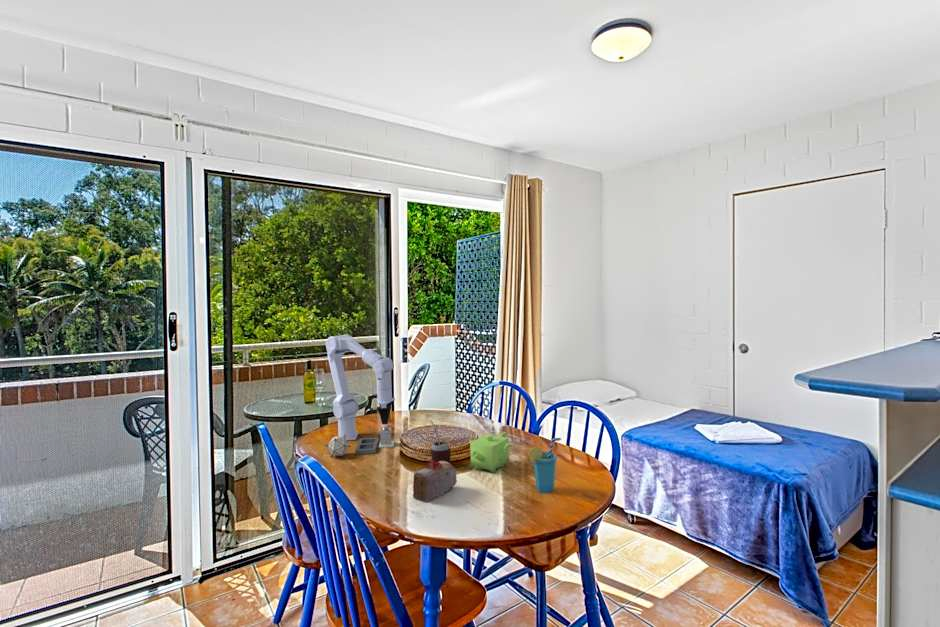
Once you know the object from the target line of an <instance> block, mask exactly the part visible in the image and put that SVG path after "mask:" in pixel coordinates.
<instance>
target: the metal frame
mask: <svg viewBox="0 0 940 627" xmlns="http://www.w3.org/2000/svg"><path fill="white" fill-rule="evenodd" d="M379 440H380V439H379V437H378V436H377V437H367V438H366V437H363V438H359V439H358V443H357V445H356V447H355V450H354V451H355V452H354V453H355V456H356V455H358V456H359V455H370V454H371V455H372V454H376V453H377V449H378V447H379V443H380V441H379Z"/></svg>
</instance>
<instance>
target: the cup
mask: <svg viewBox="0 0 940 627" xmlns="http://www.w3.org/2000/svg"><path fill="white" fill-rule="evenodd" d="M561 440H562V438H561V437H553V438H552V439H551V441H550V445H549V451H542V449H541V447H537V446H534V447H532V448H531V449H529V451H528V453H527V456H526V457H527V459H528V462H529V463H531V464H533V471H534V480H535V489H536V491H538V492H539V493H543V494H549V493H553V491H554V490H555V481H556V480H555V479H556V478H555V476H556V464H557V463H556V462H557V459H558V456H557V454H555V453H553V447H554V443H555V442H556V441H557V442H558V441H561Z"/></svg>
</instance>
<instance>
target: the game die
mask: <svg viewBox="0 0 940 627" xmlns="http://www.w3.org/2000/svg"><path fill="white" fill-rule="evenodd" d="M345 436H346V435H344V436H339V435H335V434H332V438H331V440H329V442H328V444H325V445H324V446H325V447H327V448H328V450H329V453H330V454H331V455H330V458H332V457H334V456H339V457H340V456H341V457H342V458H345V456H344V455H345V453H346V452H347V450H348V449H349V448H351V447H352V446H351V445H349V443H348V440H346V438H345Z"/></svg>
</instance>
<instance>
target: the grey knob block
mask: <svg viewBox="0 0 940 627" xmlns="http://www.w3.org/2000/svg"><path fill="white" fill-rule="evenodd" d="M379 432H380V434H379V435H380V442H381V446H383V445H391V442H392V441H393V440H392V427H389V426H383V427H381V428H380V431H379Z"/></svg>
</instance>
